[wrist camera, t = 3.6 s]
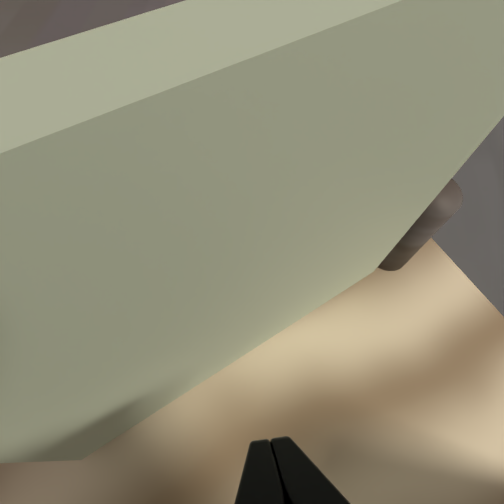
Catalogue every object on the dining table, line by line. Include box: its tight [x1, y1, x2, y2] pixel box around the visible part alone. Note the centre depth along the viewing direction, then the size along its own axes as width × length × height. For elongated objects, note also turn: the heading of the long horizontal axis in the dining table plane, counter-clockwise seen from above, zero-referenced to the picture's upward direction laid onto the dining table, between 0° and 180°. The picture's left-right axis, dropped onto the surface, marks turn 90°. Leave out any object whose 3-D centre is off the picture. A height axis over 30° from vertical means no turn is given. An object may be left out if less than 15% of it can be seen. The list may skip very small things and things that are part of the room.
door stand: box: [0, 179, 504, 504], centre depth 14 cm, size 16×22×6 cm
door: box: [0, 0, 504, 463], centre depth 11 cm, size 3×14×14 cm, turn 123°
